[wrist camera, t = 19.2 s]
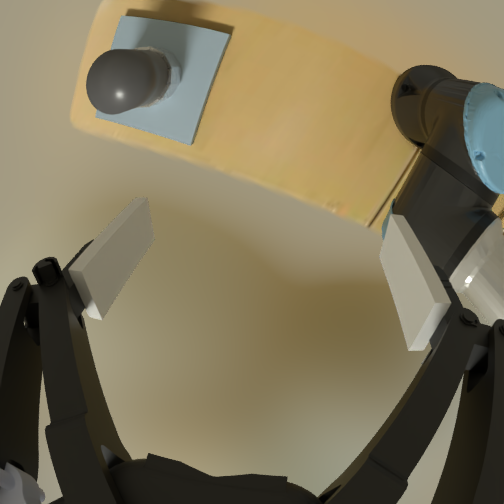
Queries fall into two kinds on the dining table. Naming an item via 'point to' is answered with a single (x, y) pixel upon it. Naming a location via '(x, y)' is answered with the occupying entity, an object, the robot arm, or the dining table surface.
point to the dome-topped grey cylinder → (126, 80)
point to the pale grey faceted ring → (173, 73)
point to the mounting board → (192, 75)
